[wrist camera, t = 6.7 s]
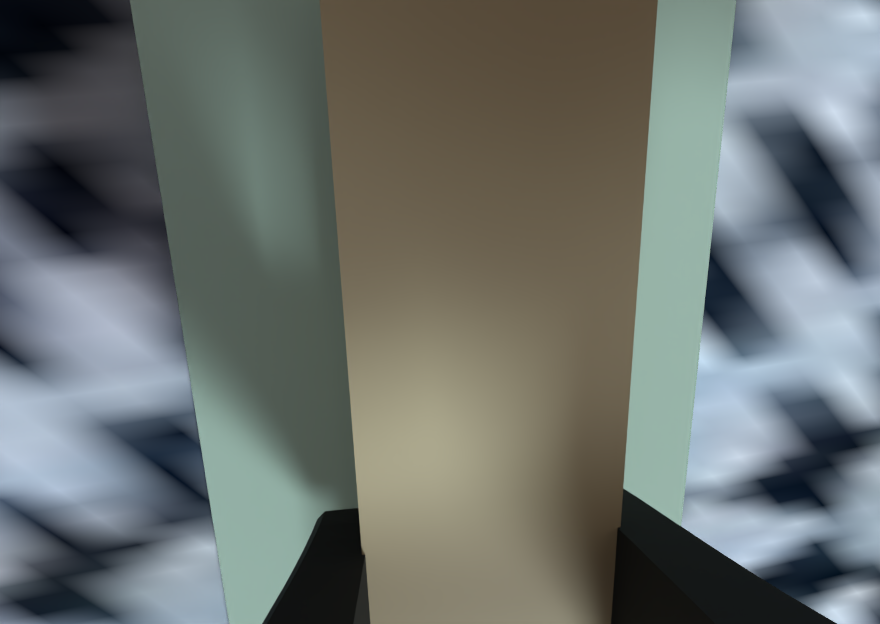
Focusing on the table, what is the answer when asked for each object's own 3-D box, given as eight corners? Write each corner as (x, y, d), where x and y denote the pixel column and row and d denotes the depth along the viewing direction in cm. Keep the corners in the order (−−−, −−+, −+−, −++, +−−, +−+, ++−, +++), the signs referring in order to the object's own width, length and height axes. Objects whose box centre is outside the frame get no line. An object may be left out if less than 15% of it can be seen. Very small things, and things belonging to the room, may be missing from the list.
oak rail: (541, 841, 12) (585, 1017, 10) (392, 866, 12) (400, 1054, 9) (570, -59, 7) (668, -152, 5) (325, -61, 7) (306, -162, 5)
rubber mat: (635, 843, 14) (645, 868, 13) (281, 901, 13) (278, 931, 12) (736, -201, 8) (759, -223, 7) (108, -225, 7) (89, -251, 7)
